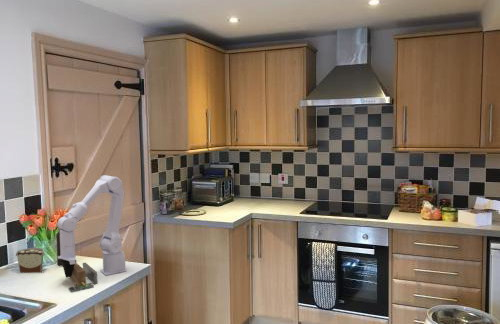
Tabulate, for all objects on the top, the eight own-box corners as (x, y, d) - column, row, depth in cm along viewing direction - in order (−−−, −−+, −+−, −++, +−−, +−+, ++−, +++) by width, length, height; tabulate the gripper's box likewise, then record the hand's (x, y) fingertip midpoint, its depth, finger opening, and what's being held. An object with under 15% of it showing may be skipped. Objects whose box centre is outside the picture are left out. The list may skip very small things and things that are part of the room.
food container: (50, 268, 199) (49, 247, 198) (44, 272, 193) (43, 251, 192) (23, 268, 199) (22, 247, 198) (16, 273, 193) (15, 251, 192)
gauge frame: (85, 273, 193) (85, 262, 192) (99, 286, 178) (99, 274, 177) (58, 278, 186) (58, 267, 185) (71, 292, 171) (70, 280, 170)
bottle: (54, 264, 204) (52, 223, 202) (66, 260, 210) (65, 221, 208) (63, 267, 201) (61, 225, 199) (75, 263, 206) (74, 222, 205)
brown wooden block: (76, 275, 189) (75, 262, 189) (88, 287, 176) (88, 273, 175) (69, 276, 187) (68, 263, 187) (80, 288, 174) (80, 274, 173)
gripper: (53, 242, 183) (54, 273, 184) (62, 250, 171) (63, 283, 172) (70, 240, 187) (71, 270, 188) (80, 247, 175) (81, 279, 177)
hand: (68, 276), depth 181 cm, fingers closed, pressing on brown wooden block
